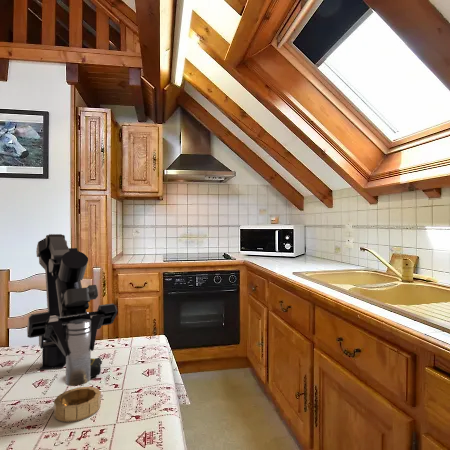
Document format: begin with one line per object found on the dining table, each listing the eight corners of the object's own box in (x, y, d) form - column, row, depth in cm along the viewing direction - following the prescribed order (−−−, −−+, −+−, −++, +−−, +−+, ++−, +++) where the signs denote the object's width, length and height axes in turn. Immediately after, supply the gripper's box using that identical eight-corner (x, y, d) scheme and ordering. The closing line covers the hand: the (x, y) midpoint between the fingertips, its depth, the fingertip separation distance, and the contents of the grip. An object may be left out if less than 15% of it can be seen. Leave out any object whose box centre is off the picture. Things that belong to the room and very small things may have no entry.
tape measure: (100, 378, 86) (100, 364, 86) (72, 382, 84) (73, 368, 84) (102, 368, 92) (102, 355, 92) (76, 371, 90) (76, 358, 90)
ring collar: (46, 424, 65) (47, 409, 65) (63, 400, 74) (64, 388, 74) (93, 420, 66) (93, 406, 66) (104, 397, 75) (104, 385, 75)
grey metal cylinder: (59, 385, 68) (60, 324, 69) (75, 374, 73) (75, 318, 74) (81, 387, 67) (82, 325, 68) (95, 376, 73) (96, 319, 73)
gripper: (29, 277, 69) (33, 342, 60) (115, 271, 80) (130, 325, 71) (25, 306, 75) (29, 370, 66) (106, 297, 86) (119, 350, 77)
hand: (79, 352), depth 70 cm, fingers closed on grey metal cylinder, 5 cm apart
